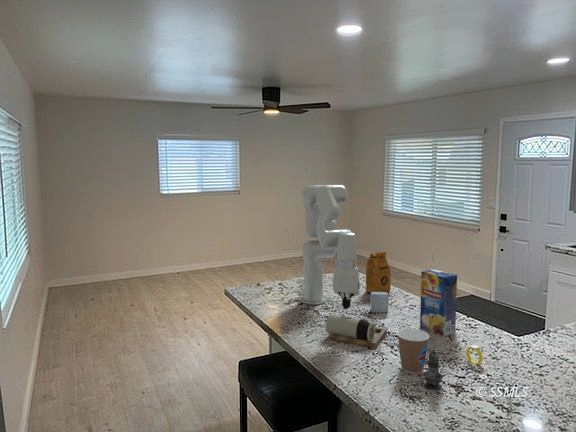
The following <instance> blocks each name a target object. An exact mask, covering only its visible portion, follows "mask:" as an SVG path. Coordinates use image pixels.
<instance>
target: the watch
mask: <svg viewBox="0 0 576 432" xmlns="http://www.w3.org/2000/svg"><path fill="white" fill-rule="evenodd" d="M471 350H473V351H475V352H477V355H478V362H477V361H475V360H473V359H472V357H471V353H470V352H471ZM465 352H466V354H465V355H466V357H467V359H468V361H469V363H472V364H473V365H476V366H477V365H480V364H482V362H483V361H484V360H483V358H484V357H483V354H482V351H481V349H480V346H478V344H477V345H476V344H471V345H469V346H468V347H467V348H466V351H465Z"/></svg>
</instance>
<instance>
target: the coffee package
mask: <svg viewBox="0 0 576 432" xmlns="http://www.w3.org/2000/svg"><path fill="white" fill-rule="evenodd" d="M386 255H387V252H386V251H382V252H381V251H380V252H375V253H374V252H373V253H370V254H369V257H368V260H367V262H366V266H365V292H367V293H370V294H371V292H387V293H389V292H390V291H391V274H392V273H391V269H390V265H389V263H388V260H387V256H386Z"/></svg>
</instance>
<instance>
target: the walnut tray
mask: <svg viewBox="0 0 576 432" xmlns="http://www.w3.org/2000/svg"><path fill="white" fill-rule="evenodd" d="M386 335H388V328H383V327H376V326H375V334H374V338H373V340H372V341H368V340H361V339H356V338H350V337H345V336H340V335H334V334H329V341H335V342H340V343H345V344H350V345H355V346H360V347H364V348H370V349H375V350H376V349H377V348H378V346H379V345H380V344H381V342H382V341H383V340H384V338H385V337H386Z"/></svg>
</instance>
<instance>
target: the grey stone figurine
mask: <svg viewBox="0 0 576 432" xmlns="http://www.w3.org/2000/svg"><path fill="white" fill-rule="evenodd" d="M439 359H440V358H439V353H438V352H437V351H436V349H435V348H433V349H432V351H430V352H429V353H428V361H427V362H426V363H427V365H428V368H427V370H426V371H424V372H423V373H422V375H423V376H424V377H423V378H424V380H425V382H424V383H423V386H424V388H425V389H428V390H430V391H435V392H437V391H441V390H442V388H443V387H442V385H441V383H442V381H443V379H444V375H443V373H441V372H439V367H440V363H439Z"/></svg>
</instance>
